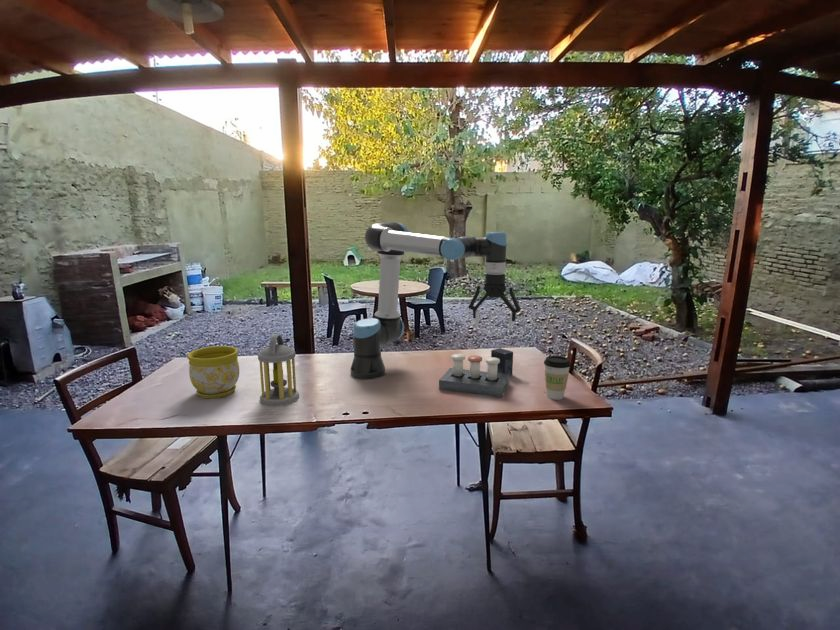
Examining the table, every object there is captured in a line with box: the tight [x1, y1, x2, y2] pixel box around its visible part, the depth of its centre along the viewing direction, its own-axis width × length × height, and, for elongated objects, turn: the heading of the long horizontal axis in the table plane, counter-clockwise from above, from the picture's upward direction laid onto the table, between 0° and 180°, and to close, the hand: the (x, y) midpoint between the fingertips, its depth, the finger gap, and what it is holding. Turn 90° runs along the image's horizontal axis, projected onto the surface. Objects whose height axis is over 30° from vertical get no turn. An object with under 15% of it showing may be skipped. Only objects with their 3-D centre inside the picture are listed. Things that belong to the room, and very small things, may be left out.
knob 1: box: [450, 353, 466, 376], centre depth 192 cm, size 6×6×8 cm
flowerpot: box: [186, 345, 240, 399], centre depth 183 cm, size 18×18×16 cm
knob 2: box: [484, 356, 500, 380], centre depth 187 cm, size 6×6×8 cm
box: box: [490, 347, 514, 377], centre depth 205 cm, size 8×6×11 cm
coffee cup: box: [543, 355, 572, 401], centre depth 179 cm, size 10×10×15 cm
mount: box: [438, 367, 510, 398], centre depth 191 cm, size 25×16×4 cm, turn 70°
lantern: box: [257, 333, 300, 407], centre depth 176 cm, size 14×14×25 cm
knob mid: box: [467, 355, 483, 378], centre depth 189 cm, size 6×6×8 cm
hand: (493, 328), depth 184 cm, fingers open, 12 cm apart
